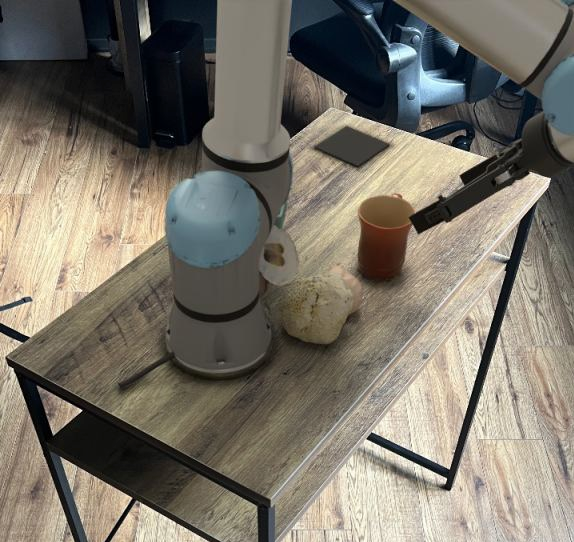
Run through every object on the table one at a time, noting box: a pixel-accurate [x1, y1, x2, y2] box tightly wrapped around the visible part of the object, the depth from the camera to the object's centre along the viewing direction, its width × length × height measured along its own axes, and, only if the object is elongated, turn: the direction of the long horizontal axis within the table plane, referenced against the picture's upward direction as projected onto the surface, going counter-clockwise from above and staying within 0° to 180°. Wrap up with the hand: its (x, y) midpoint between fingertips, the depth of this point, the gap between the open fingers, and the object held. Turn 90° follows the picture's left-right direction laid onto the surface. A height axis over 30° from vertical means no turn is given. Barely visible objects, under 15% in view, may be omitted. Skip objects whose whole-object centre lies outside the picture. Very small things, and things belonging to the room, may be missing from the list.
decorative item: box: [279, 273, 354, 345], centre depth 117 cm, size 12×9×10 cm
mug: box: [356, 192, 417, 282], centre depth 127 cm, size 12×9×10 cm
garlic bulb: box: [325, 261, 364, 315], centre depth 122 cm, size 7×6×8 cm
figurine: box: [259, 211, 300, 294], centre depth 121 cm, size 11×10×15 cm
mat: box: [313, 125, 390, 168], centre depth 152 cm, size 10×10×1 cm
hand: (440, 203), depth 117 cm, fingers open, 13 cm apart
